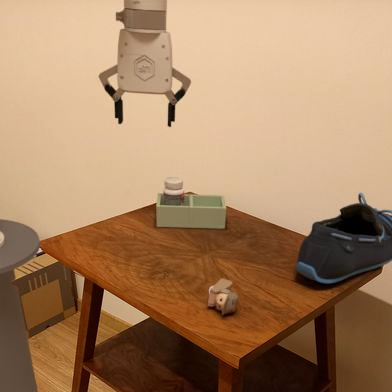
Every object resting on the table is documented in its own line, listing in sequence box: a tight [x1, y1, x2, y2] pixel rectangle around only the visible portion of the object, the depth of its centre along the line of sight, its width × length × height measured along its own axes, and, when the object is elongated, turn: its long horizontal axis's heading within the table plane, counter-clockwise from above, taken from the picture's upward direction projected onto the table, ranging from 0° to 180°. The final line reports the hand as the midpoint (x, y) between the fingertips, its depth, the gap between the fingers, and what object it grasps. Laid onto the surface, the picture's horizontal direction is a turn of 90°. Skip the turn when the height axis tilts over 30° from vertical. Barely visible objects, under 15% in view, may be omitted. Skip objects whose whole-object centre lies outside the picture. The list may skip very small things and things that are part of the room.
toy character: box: [207, 278, 240, 316], centre depth 87 cm, size 4×8×6 cm
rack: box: [155, 192, 227, 230], centre depth 117 cm, size 15×8×5 cm, turn 91°
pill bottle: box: [162, 176, 185, 206], centre depth 115 cm, size 5×5×8 cm
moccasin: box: [294, 192, 392, 285], centre depth 101 cm, size 14×34×12 cm, turn 142°
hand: (145, 123), depth 101 cm, fingers open, 9 cm apart
